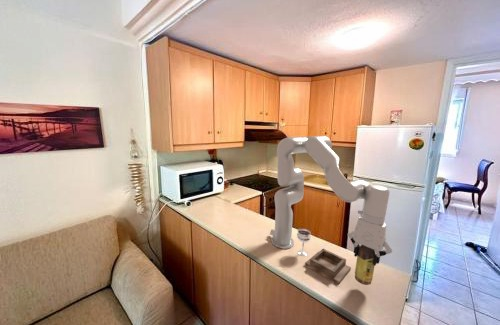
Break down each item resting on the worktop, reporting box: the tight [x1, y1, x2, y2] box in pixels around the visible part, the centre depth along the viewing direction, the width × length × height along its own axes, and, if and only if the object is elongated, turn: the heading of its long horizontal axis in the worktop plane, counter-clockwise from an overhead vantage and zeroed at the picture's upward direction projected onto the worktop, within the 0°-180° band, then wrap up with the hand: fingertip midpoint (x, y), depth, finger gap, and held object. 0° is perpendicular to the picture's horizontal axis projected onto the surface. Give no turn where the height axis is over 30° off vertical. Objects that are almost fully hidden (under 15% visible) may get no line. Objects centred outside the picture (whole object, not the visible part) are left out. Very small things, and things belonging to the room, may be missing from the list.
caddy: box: [304, 248, 352, 285], centre depth 94 cm, size 16×13×4 cm
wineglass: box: [297, 228, 312, 257], centre depth 104 cm, size 7×7×12 cm
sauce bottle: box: [354, 244, 376, 286], centre depth 80 cm, size 6×6×20 cm
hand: (365, 259), depth 80 cm, fingers closed on sauce bottle, 6 cm apart
